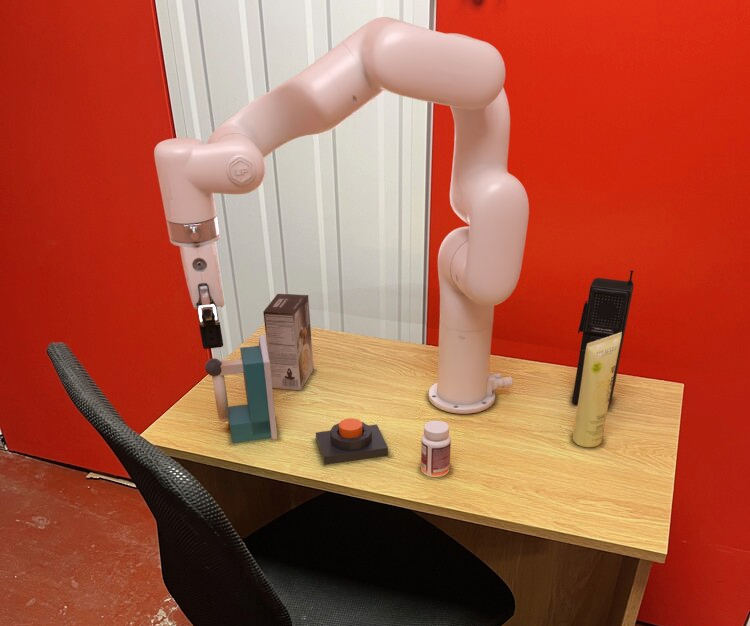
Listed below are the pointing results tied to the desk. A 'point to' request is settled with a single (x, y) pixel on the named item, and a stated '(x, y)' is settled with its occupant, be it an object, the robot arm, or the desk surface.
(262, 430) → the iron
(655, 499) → the desk surface
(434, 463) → the pill bottle
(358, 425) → the power button
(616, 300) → the portable radio
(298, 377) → the coffee box
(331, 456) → the switch box
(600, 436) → the tube
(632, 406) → the desk surface
